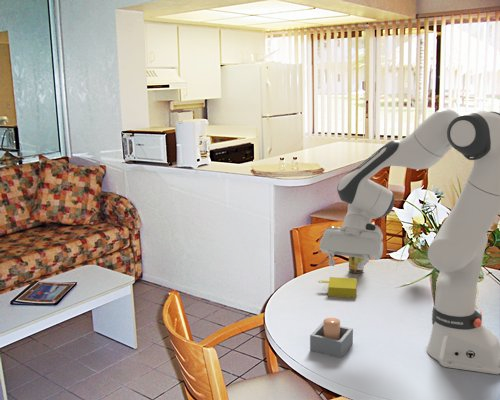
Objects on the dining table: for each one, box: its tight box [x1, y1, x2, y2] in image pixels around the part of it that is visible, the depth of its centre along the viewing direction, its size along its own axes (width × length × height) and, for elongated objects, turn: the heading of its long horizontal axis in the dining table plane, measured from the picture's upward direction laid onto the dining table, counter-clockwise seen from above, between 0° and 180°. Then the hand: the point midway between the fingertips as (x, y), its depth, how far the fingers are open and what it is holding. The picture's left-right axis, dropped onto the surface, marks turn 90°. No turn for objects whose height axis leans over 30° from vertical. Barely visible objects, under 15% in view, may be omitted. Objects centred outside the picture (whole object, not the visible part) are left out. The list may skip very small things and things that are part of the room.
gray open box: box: [309, 321, 354, 359], centre depth 169 cm, size 10×10×5 cm
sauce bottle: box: [348, 256, 365, 274], centre depth 229 cm, size 7×6×20 cm
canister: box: [323, 317, 341, 340], centre depth 169 cm, size 5×5×8 cm
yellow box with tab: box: [318, 276, 359, 299], centre depth 211 cm, size 16×8×15 cm
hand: (345, 267), depth 173 cm, fingers open, 8 cm apart
